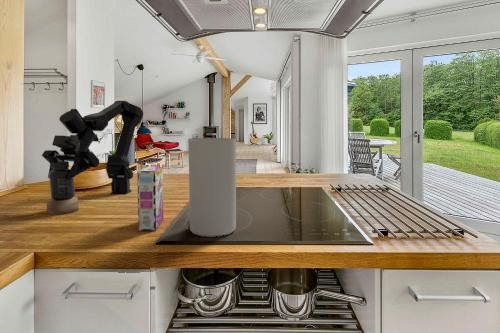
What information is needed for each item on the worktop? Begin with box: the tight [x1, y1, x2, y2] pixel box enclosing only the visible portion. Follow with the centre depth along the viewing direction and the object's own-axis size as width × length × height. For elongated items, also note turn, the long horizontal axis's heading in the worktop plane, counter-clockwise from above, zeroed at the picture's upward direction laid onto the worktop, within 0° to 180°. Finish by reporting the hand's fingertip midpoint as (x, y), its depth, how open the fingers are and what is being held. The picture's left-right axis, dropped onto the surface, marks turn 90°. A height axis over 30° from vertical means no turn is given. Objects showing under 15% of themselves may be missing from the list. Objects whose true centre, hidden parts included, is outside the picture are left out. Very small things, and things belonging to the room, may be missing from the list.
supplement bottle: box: [48, 161, 76, 200], centre depth 103 cm, size 7×7×12 cm
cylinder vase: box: [187, 137, 237, 238], centre depth 85 cm, size 12×12×25 cm
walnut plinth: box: [45, 196, 80, 216], centre depth 104 cm, size 9×9×4 cm
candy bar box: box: [136, 166, 164, 232], centre depth 89 cm, size 11×5×16 cm, turn 5°
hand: (58, 178), depth 102 cm, fingers closed on supplement bottle, 7 cm apart
